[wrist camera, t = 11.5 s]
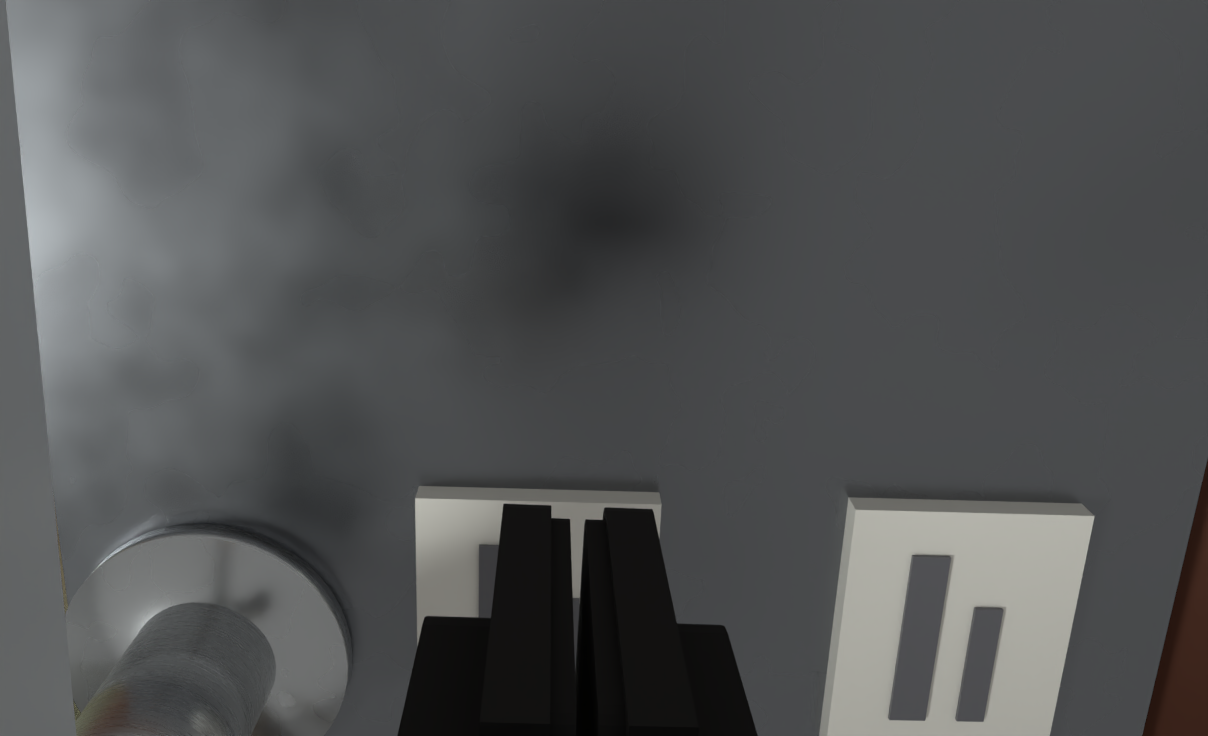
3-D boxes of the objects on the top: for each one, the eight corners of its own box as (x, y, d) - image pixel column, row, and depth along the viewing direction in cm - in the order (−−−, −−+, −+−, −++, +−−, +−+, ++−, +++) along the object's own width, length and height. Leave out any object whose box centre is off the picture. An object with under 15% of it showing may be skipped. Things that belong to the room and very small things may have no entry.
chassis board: (1099, 823, 26) (1115, 847, 25) (112, 809, 25) (98, 833, 24) (1298, -43, 20) (1326, -46, 19) (-2, -104, 19) (-27, -110, 18)
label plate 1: (644, 733, 24) (646, 753, 23) (422, 729, 24) (418, 750, 23) (659, 492, 22) (662, 506, 21) (419, 486, 22) (414, 500, 21)
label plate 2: (1034, 740, 24) (1047, 761, 24) (818, 737, 24) (826, 757, 23) (1081, 503, 22) (1096, 518, 22) (848, 497, 22) (856, 511, 22)
